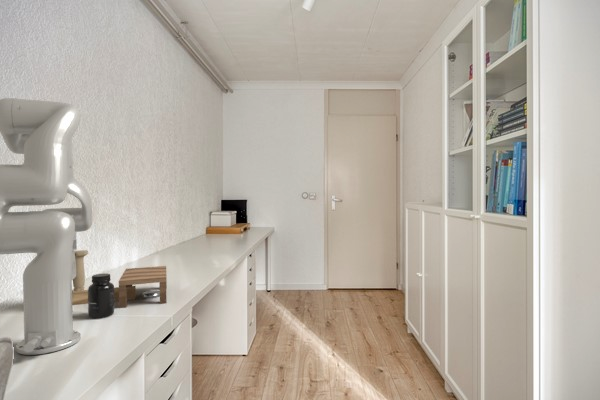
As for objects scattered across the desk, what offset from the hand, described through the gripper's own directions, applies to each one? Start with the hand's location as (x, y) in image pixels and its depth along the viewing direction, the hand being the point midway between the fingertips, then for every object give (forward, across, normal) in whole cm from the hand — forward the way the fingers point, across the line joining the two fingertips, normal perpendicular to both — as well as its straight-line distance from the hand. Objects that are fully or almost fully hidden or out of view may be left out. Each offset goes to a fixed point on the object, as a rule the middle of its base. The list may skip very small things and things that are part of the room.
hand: (64, 302), depth 120 cm
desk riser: (+1, 0, -24) cm, 24 cm away
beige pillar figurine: (+1, +19, -1) cm, 19 cm away
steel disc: (+1, 0, -26) cm, 26 cm away
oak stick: (+1, 0, -9) cm, 9 cm away
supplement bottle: (+1, -17, -13) cm, 22 cm away
